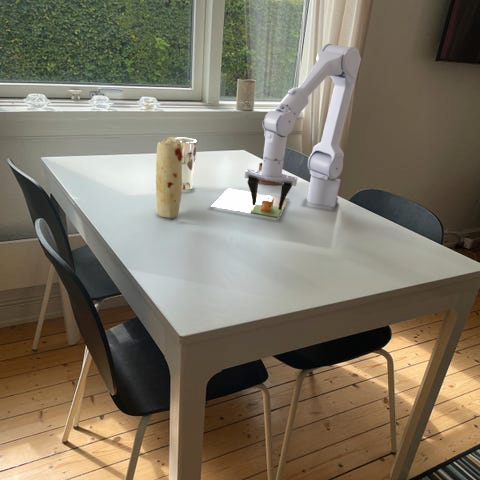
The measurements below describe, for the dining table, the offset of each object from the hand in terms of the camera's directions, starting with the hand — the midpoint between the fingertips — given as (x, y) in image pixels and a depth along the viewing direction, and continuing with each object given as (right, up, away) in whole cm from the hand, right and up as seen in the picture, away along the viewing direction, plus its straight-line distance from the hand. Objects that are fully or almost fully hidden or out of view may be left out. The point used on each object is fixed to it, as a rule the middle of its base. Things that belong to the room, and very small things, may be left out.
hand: (267, 206), depth 139 cm
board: (-4, +2, +7) cm, 8 cm away
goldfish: (0, -1, +1) cm, 1 cm away
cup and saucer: (+2, +15, +29) cm, 33 cm away
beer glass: (-26, +8, +13) cm, 30 cm away
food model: (-27, -4, -7) cm, 29 cm away
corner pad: (0, -1, +1) cm, 1 cm away
